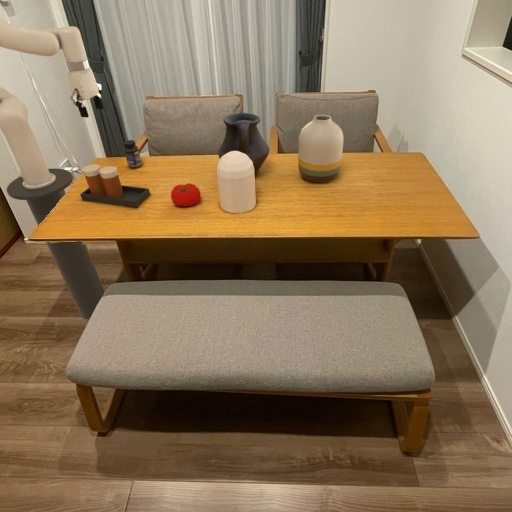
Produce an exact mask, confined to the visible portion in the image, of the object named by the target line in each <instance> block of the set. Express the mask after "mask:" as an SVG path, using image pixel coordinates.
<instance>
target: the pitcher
mask: <svg viewBox="0 0 512 512" xmlns="http://www.w3.org/2000/svg"><path fill="white" fill-rule="evenodd" d="M222 120H223V123H224V125H225V135H224V138H223V141H222V143H221V145H220V146H219V148H218V158H219V160H220V159H221V157H222V156H223V155H225V154H227V153H228V152H231V151H239V152H241V153H244V154H246V155H247V156H248V157H249V158H250V159H251V161H252V162H253V166H254V175H255V176H257V174H258V172H259V171H260V169H261V167H262V166H263V164H264V163H265V161H266V159H267V158H268V156H269V154H270V147H269V145H268V143H267V142H266V140H265V139H264V138H263V137H262V135H261V133H260V131H259V128H258V124H259V123H260V122H261V121H262V120H261V116H259V115H256V114H254V113H250V112H238V113H237V112H236V113H233V114H229V115H227V116H224V118H223V119H222Z"/></svg>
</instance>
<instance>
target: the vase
mask: <svg viewBox="0 0 512 512" xmlns="http://www.w3.org/2000/svg"><path fill="white" fill-rule="evenodd" d="M343 148H344V134H343V130H342V129H341V127H340V126H339V124H337V123H336V122H335V121H333V120H332V116H331V115H328V114H317V115H314V116H313V119H312V120H311V121H310V122H308V123H307V124H306V125H304V126H303V127H302V128H301V131H300V133H299V136H298V156H297V157H298V158H297V159H298V160H297V164H298V165H297V167H298V172H299V174H300V175H301V177H302V178H303V179H305V180H306V181H308V182H312V183H325V182H330V181H333V180H334V179H335V178H336V177H337V176H339V173H340V171H341V167H342V159H343Z"/></svg>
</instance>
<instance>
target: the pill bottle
mask: <svg viewBox="0 0 512 512" xmlns="http://www.w3.org/2000/svg"><path fill="white" fill-rule="evenodd" d="M136 144H137V143H136V141H135V140H134V139H129V140H125V141H124V142H123V145H124V149H123V152H124V156H125V160H126V164H127V167H128V168H130V169H139V168H141V167H142V166H143V162H142V158H141V153H140V149H139V147H138V145H136Z"/></svg>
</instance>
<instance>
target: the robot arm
mask: <svg viewBox="0 0 512 512" xmlns="http://www.w3.org/2000/svg"><path fill="white" fill-rule="evenodd" d="M0 48H3V49H6V50H11V51H16V52H20V53H23V54H30V55H35V56H42V57H53V56H56V55H57V54H58V52H59V51H61V50H62V53H63V56H64V59H65V62H66V66H67V69H68V72H67V74H68V75H67V76H68V82H69V87H70V90H71V95H70V97H69V99H70V100H71V102H72V103H73V105H75V106H76V108H78V111H79V114H80V115H79V116H80V117H81V118H89V117H90V115H89V112H88V109H87V107H86V106H85V105H86V101H87V100H90V99H92V98H93V102H94V106H95V109H96V110H104V103H103V101H102V98H103V96H102V93H103V92H102V84H101V83H97V80H96V77H95V75H94V72H93V70H92V68H91V65H90V62H89V59H88V55H87V52H86V48H85V44H84V41H83V38H82V33H81V30H80V28H78V27H77V26H73V25H72V26H71V25H70V26H69V25H68V26H62V27H40V28H39V29H38V30H37V29H32V28H27V27H22V26H18V25H14V24H12V23H9V22H8V21H6V20H4V19H2V18H0ZM28 116H29V109H28V107H27V105H26V104H25V102H24V101H22V100H21V99H20V98H19V97H18V96H16V95H14V94H12V93H11V92H10V91H8V90H7V89H5V88H3V87H2V86H0V131H1V133H2V134H3V136H4V138H5V140H6V142H7V144H8V147H9V149H10V151H11V152H12V154H13V156H14V159H15V161H16V163H17V166H18V168H19V173H18V174H17V176H18V178H19V177H23V179H24V181H23V186H24V188H27V189H39V188H43V187H46V186H49V185H51V184H52V183H54V182H55V180H56V177H55V175H54V174H51V173H49V170H48V169H49V167H48V166H47V163H46V159H45V158H44V155H43V153H42V150H41V148H40V145H39V143H38V141H37V139H36V136H35V134H34V132H33V130H32V128H31V127H30V124H29V120H28Z"/></svg>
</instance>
